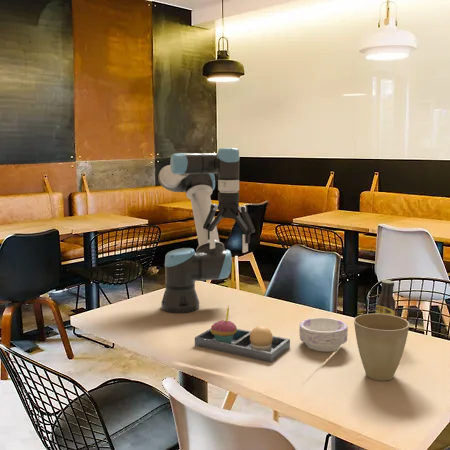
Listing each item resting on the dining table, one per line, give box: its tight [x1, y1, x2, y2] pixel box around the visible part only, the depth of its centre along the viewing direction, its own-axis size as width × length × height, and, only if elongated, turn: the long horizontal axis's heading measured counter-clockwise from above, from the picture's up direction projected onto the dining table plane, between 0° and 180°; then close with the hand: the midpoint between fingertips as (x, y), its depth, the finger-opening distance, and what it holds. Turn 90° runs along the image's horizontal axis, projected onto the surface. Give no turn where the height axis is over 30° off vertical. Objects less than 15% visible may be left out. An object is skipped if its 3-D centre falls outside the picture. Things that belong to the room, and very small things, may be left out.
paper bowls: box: [299, 317, 349, 352], centre depth 173 cm, size 15×15×8 cm
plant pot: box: [353, 313, 410, 381], centre depth 152 cm, size 15×15×16 cm
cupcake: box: [210, 305, 238, 344], centre depth 175 cm, size 9×8×12 cm
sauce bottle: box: [375, 279, 397, 316], centre depth 180 cm, size 6×6×20 cm
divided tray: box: [194, 328, 291, 364], centre depth 172 cm, size 27×14×4 cm, turn 60°
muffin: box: [250, 325, 274, 352], centre depth 169 cm, size 7×7×8 cm
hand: (228, 250), depth 195 cm, fingers open, 13 cm apart
